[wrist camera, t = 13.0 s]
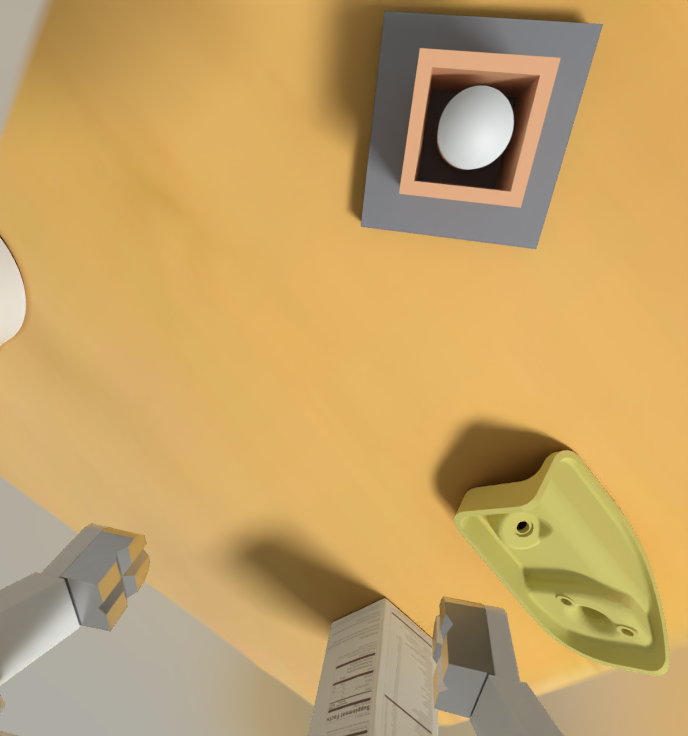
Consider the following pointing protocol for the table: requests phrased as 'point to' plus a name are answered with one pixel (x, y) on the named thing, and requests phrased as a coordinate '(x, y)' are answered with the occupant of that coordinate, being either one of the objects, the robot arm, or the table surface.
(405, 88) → the base
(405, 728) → the supplement box
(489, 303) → the table surface
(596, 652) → the plastic component
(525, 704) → the robot arm
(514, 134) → the sleeve
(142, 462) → the table surface
